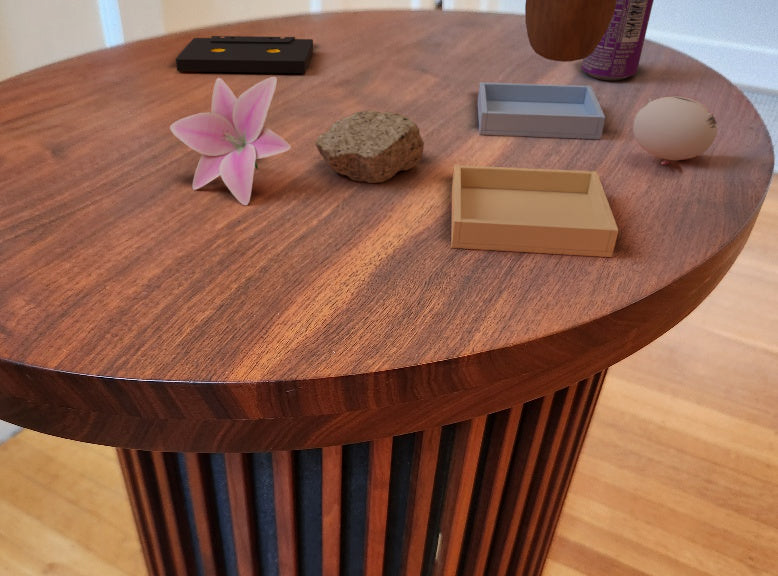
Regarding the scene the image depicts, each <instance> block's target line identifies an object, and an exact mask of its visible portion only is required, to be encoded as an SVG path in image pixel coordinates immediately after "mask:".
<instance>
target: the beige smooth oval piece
mask: <svg viewBox="0 0 778 576" xmlns="http://www.w3.org/2000/svg"><path fill="white" fill-rule="evenodd" d="M632 131H633V136H634V139H635V140H636V142H637V144H638V145H639V146H640V148H642V150H644V151H646V152H647V153H648V154H650V155H652V156H654V157H657V158H659V159H662V160H663V159H664V160H663V161H661V162H660V163H661V165H665V166H666V165H669V164H670V161H684V160H689V159H693V158H695V157H698V156H699V155H702V154H703V153H705V152H706V151H707V150H708V149H710V148H711V146H712V145H713V143H714V141H715V140H716V137H717V135H718V134H717V133H718V126H717V121H716V118H715V116H714V115H713V112H711V111H710V110H709V109H708V107H706V105H704V104H703V103H700V102H698V101H697V100H694V99H693V98H689V97H683V96H676V95H675V96H674V95H673V96H665V97H659V98H657V99H653V100H652V99H651V98H650V97H648V103H646V104H645V105H643V106H642V107H641V108H640V109H639V111H638V112H637V113H636V115H635V117H634V119H633V123H632Z"/></svg>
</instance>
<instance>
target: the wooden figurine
mask: <svg viewBox="0 0 778 576" xmlns="http://www.w3.org/2000/svg"><path fill="white" fill-rule="evenodd" d="M616 2H617V0H525V4H524V5H525V6H524V10H525V11H524V13H525V14H524V15H525V16H524V17H525V28H526V33H527V38H528V42H529V45H530V47H531V49H532V50H533V51H534V53H535V54H537V55H538V56H540V57H541V58H544V59H546V60H549V61H553V62H564V63H565V62H567V63H568V62H571V63H572V62H574V61H580V60H583V59H584V58H586V57H588V56H589V55H591V54H592V53H593V52H594V50H595V49H596V47H597V46H598V44H599V43H600V41H601V40H602V38H603V36H604V34H605V32H606V31H607V29H608V27H609V24H610V22H611V19H612V17H613V15H614V11H615V7H616Z"/></svg>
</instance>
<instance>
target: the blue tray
mask: <svg viewBox="0 0 778 576" xmlns="http://www.w3.org/2000/svg"><path fill="white" fill-rule="evenodd" d="M477 116H478V131H479V132H478V133H479V135H480V136H504V137H505V136H506V137H530V138H531V137H533V138H555V139H556V138H557V139H582V140H601V139H602V135H603V130H604V127H605V121H606V115H605V113H604V111H603V109H602V107H601V104H600V102H599V100H598V98H597V95H596V94H595V91H594V89H593V87H592V85H582V84H581V85H580V84H579V85H576V84H549V83H547V84H545V83H516V82H484V81H483V82H482V81H481V82H479V86H478V95H477Z"/></svg>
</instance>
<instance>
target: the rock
mask: <svg viewBox="0 0 778 576" xmlns="http://www.w3.org/2000/svg"><path fill="white" fill-rule="evenodd" d="M314 144H315V146H316V149H317V150H318V151H317V152H319V155H320V156H321V157H322V158H323V160H324V161H325V162H326V164H328V166H329V167H330V168H331V170H333V171H334V172H335V173H339V174H340V175H343V176H347V177H348V178H349V179H351V180H352V181H357V182H360V183H361V182H367V183H370V184H378V183H384V182H386V181H388V180H391V179H392V178H393V177H394V176H395V175H396V174H397V173H398V172H401V171H407V170H410V169H412V168H413V167H415V166H416V165H417V163H418V162H420V160H421V159H422V157H423V153H424V145H425V142H424V140H423V138H422V135H421V133H420V128H419V126H418V125H417V123H415V122H414V121H413V120H412V119H411V118H410V117H408V116H406V115H402V114H399V113H395V112H393V111H388V110H387V111H384V112H382V111H376V110H366V111H365V110H363V111H359V110H358V111H356V112H355V113H353V114H352V115H350V116H346V117H342V118H340V119H339V120H337V121H334V122H333V124H332V125H331V126H330V128H329V129H327V130H326V131H325V132H324V133H322V134H320V135H319V136H318V137H317V139H316V141H315V142H314Z"/></svg>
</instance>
